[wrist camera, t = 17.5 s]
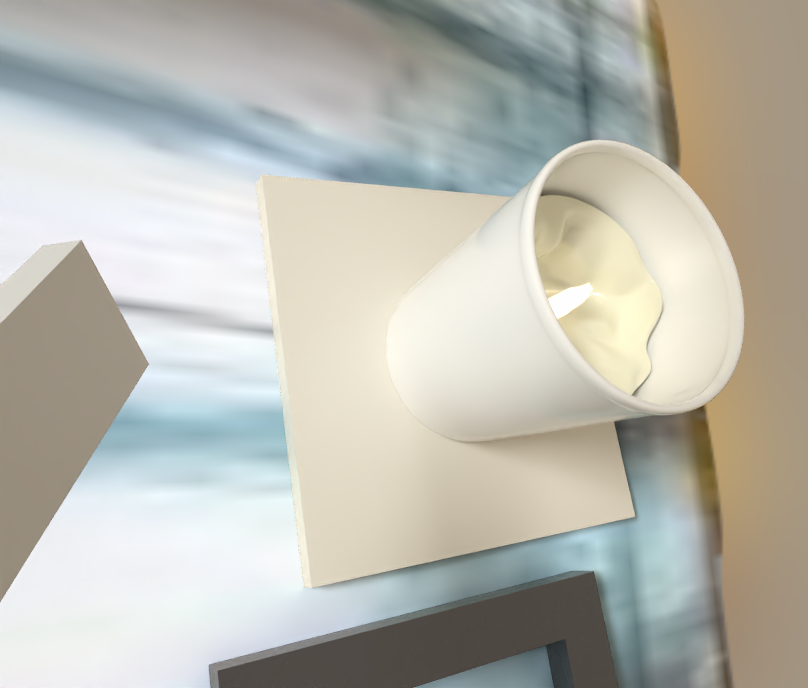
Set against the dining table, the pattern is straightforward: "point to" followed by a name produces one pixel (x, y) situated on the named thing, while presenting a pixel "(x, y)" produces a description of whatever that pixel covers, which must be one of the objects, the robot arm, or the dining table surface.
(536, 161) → the dining table surface
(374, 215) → the cream tile
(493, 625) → the dark grey square frame
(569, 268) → the candle holder
